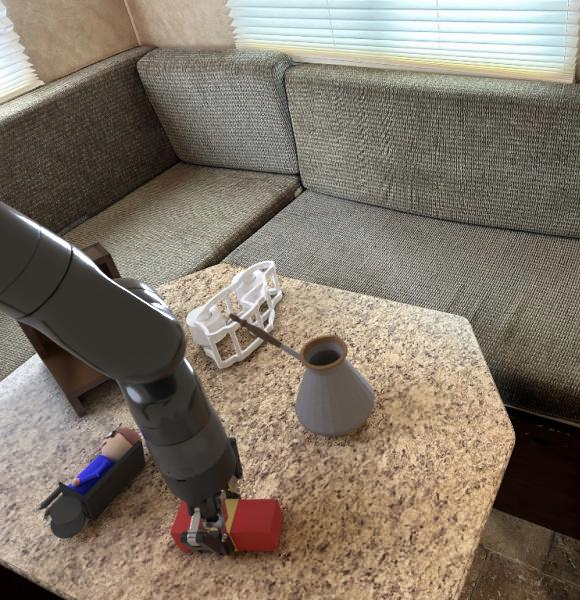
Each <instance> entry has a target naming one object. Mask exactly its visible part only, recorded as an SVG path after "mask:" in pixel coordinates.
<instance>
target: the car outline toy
mask: <svg viewBox="0 0 580 600" xmlns="http://www.w3.org/2000/svg"><path fill="white" fill-rule="evenodd" d="M262 269H266V270H265V271H264V272H263V271H261V270H262ZM270 277H271V278H272V281H273V285H274V287H273V288H269V287H268V283H267V282H268V281H267V280H268V279H269V278H270ZM278 279H279V278H278V276H277V271H276V265H275V261H273V260H271V259H269V260H264V261H259V262H256V263H254V264H252V265H250V266H248V268H245V269H244V270H242V271H240V272H238V273H236V274H235V275H234V276H233V277H232V280H231V283H230V284H229V285H228V286H226V287H225V288H223V289H222V290H220V291H219V292H217V293H216V294H214V295H213V296H212V297H211V298H210V299H208V300H207V301H206V302H205V303H204V305H202V306H201V305H200V306H198V307H196V308H194V309H192V310H191V311H190V312H189V313H188V314H187V316H186V319H185V322H186V324H187V327H188V330H189V332H190V334H191V337H192V339H193V341H194V343H195V344H197V345H198V346H203V350H204V353H205V355H206V356H207V357H210V358H211V359H212V360H213V361H214V362H215V364H216V366H217V368H218V369H220V370H223V369H226V368H229V367H230V366H232V365H233V364H235V363H237V362H243V360H245V359H246V358H247V357H248V356H249V355H251V354H252V353H253V352H254V351H255V350H256V349H258V348H259V346H261V345H262V343H264V342H265V340H263V339H261V338H259V337H257V338H256V339H255V340H253V342H251V343H250V344H249V345H248V346H247V347H246V348H244V350H242V349H241V346H240V343H239V340H238V338H237V335H236V331H237V330H238V329H239V328H242V327H241V326H240V324H239V323H238V322H235V321H233V322H232V323H231V324H230V325H226V321H225V319H224V317H223V314H222V311H221V309H220V308H219V307H218V306H217V305H216V304H217V303H219V302H220V301H221V300H223V299H224V303H225V305H226V308H227V311H228V314H229V315H230V314H233V313H235V311H234V308H233V305H232V302H231V299H230V296H229V294H232V293H234V294H235V296H236V299H237V302H238V304H239V305H240V306H241V308H242V309H241V311H239V312H238V313H236V314H237V316H239V318H241V319H246V320H247V322H248V323H250V324H252V325H255V326H257V327H260V328H261V329H263V330H264V331H266V332H267V333H269V334H270V333H271V332H272V331H273V330H274V320H275V317H276V312H275V306H276V305H277V304H278V303H279V302H281V300H282V298H283V292H282V289H281V287H280V283H279V280H278ZM271 296H274V297H273V298H272V297H271ZM265 302H266V304H267V307H268V309H267V310H266V311H265V312H264V313H262V315H261V313H260V307H261V306H262V305H263V304H264V303H265ZM234 315H235V314H234ZM253 316H255V320H254V322H253V320H252V317H253ZM267 320H268V324H267V325H266V326H265V325H264V323H265V322H266V321H267ZM231 321H232V319H231V318H230V319H229V320H228V322H227V324H229V323H230V322H231ZM248 331H249V330H248ZM227 334H229V335H230V339H231V342H232V344H233V347H234V350H235V353H234V354H233V355H231V356H229V357H228V358H227V359H225V360H222V357H221V355H220V352H219V349H218V347H217V343H219V342H220V341H222V340H223V339H225V337H226V336H227ZM249 334H250V335H252V336H254V337H256V336H255V335H254V334H253V333H252V332H250V331H249Z"/></svg>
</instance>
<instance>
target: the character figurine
mask: <svg viewBox="0 0 580 600" xmlns="http://www.w3.org/2000/svg"><path fill="white" fill-rule="evenodd" d="M146 466H147V463H146V456H145V451H144V444H143V439H142V437H141V435H140V434H139V433H138V431H136V430H134V429H132V428H129V427H119V428H116V429H114V430H112V431H110V432H109V433H107V434H106V436H105V438H104V439H103V441H102V443H101V454H98V455H97V456H96V457H95V458H94V459H93V460H91V462H89V464H88V465H87V466H86V467H85V468H84V469H83V470H81V472H80V473H79V474H78V475H77V476H76V477H74V478H73V479H72V480H71V482H70V483H68V485H67V484H65V483H63V481H59V482H58V487H56V488H55V490H54V491H52V493H50V494H49V495H48V496H47V497H46V499H44V500H43V502H41V504H40V506H39V511H41V510H44V514H43V518H46V517H48V516H50V518H51V520H50V525H49V526H50V530H51V532H52V534H53V535H54V536H55V537H56V538H59V539H61V540H66V539H71V538H73V537H75V536H77V535H79V534H80V533H81V532H82V531H83V529H84V528H85V525H86V519H88V520H89V521H90V520H91V521H92V522H95V521H96V520H97V519H98V518H99V517H101V515H102V514H103V513H104V512H105V511H106V510H107V508H108V507H109V506H110V505H111V504H112V503H113V502H114V501H115V500H116V499H117V498H118V497H119V496H120V495H121V493H122V492H123V491H124V490H125V489H126V488H127V487H128V486H129V484H131V482H132V481H133V480H134V479H135V478H136V477H137V476H138V475H139V474H140V473H141V472H142V470H144V469H145V467H146ZM60 494H61V495H60ZM56 498H57V499H56ZM49 505H50V506H49ZM45 509H46V510H45Z"/></svg>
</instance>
